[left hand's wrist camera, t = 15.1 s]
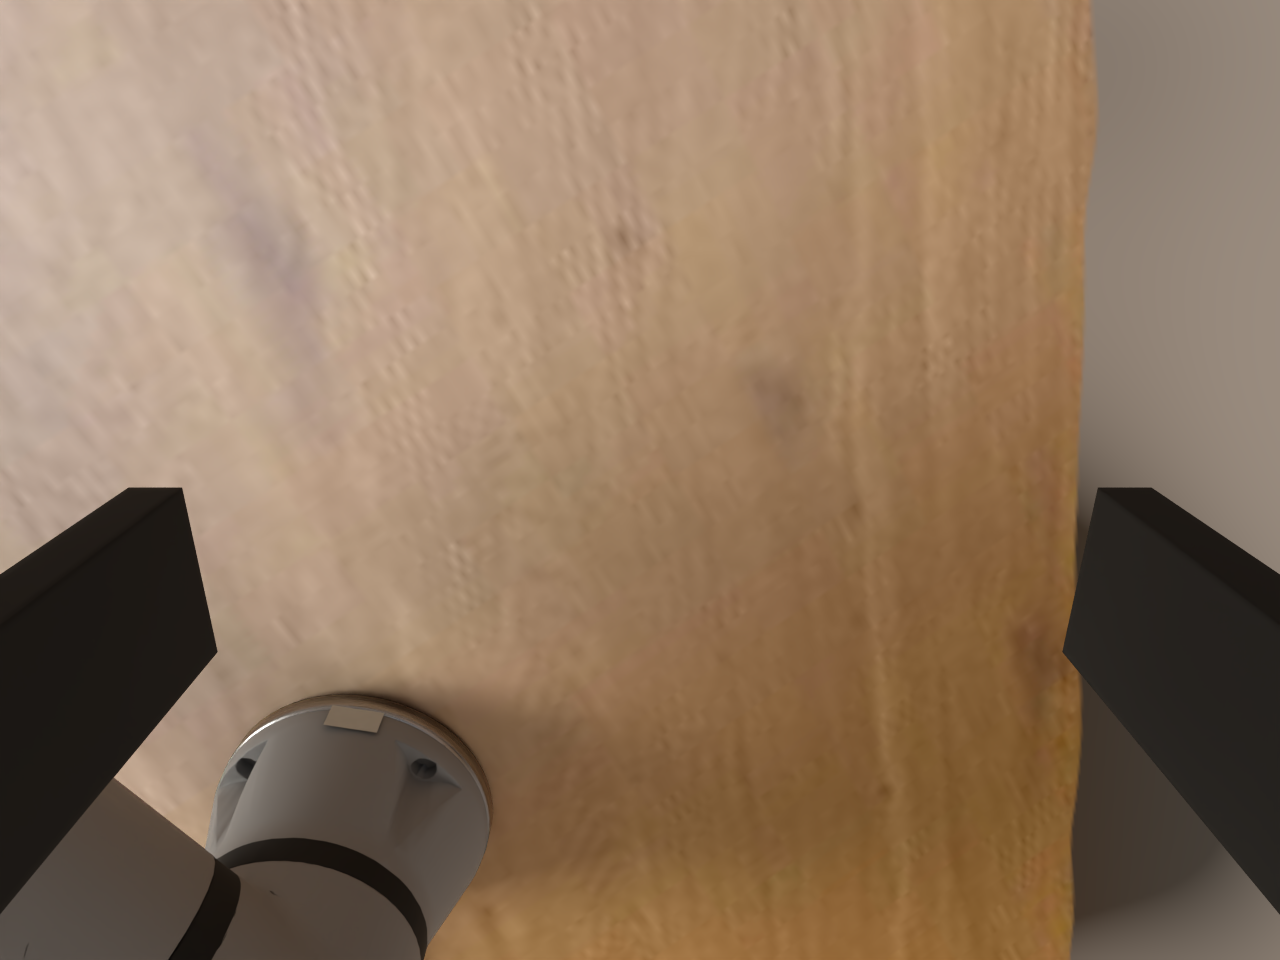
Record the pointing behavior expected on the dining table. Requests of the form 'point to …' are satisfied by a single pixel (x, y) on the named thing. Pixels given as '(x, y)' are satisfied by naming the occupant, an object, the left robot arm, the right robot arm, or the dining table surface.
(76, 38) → the dining table surface
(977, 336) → the dining table surface
